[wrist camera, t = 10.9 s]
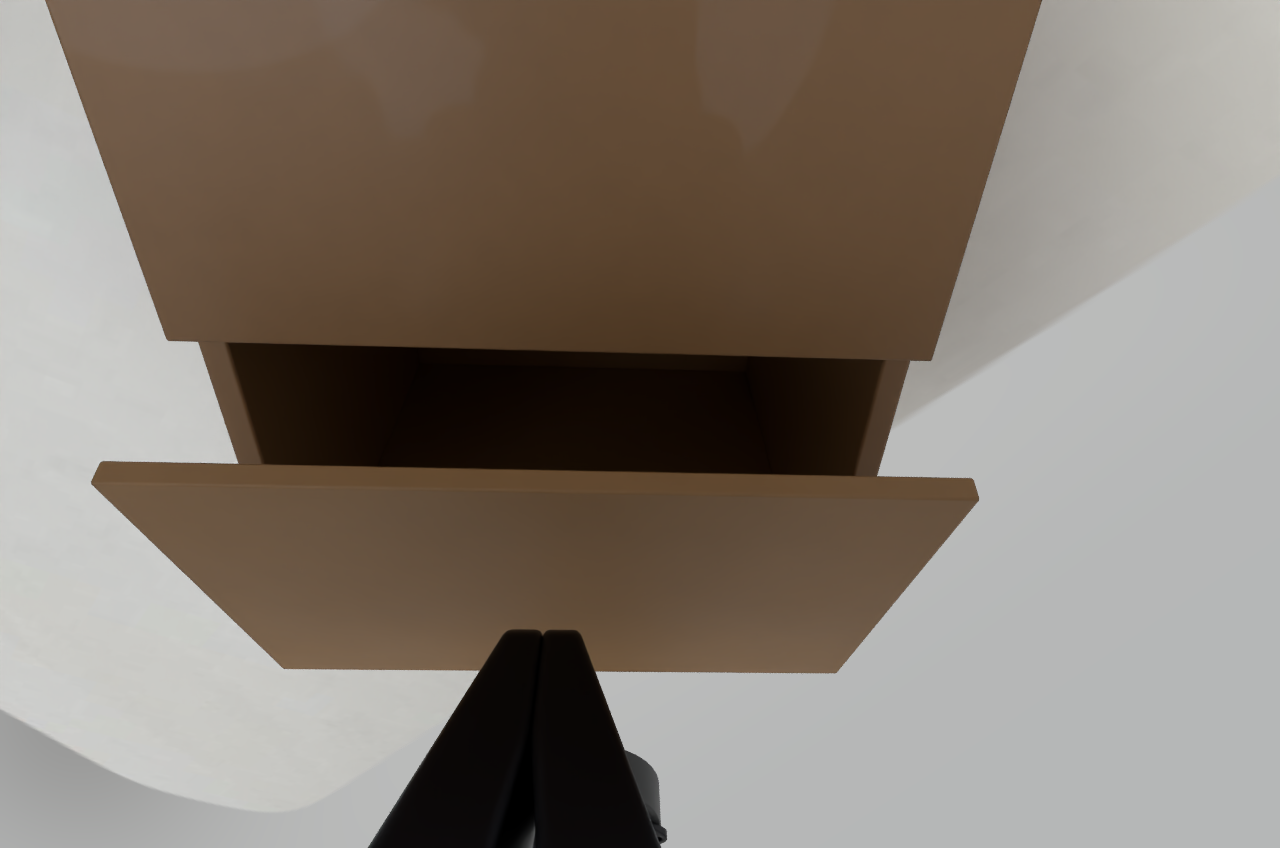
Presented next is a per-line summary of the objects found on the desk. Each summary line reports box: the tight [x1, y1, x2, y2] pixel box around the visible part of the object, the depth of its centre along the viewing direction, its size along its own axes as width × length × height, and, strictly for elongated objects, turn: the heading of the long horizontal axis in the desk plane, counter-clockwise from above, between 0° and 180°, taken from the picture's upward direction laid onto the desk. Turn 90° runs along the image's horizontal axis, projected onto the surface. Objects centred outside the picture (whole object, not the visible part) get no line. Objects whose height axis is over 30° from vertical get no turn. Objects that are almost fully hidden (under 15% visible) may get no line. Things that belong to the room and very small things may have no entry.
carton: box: [45, 0, 1042, 476], centre depth 14 cm, size 13×10×10 cm
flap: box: [91, 461, 979, 673], centre depth 11 cm, size 6×10×1 cm, turn 87°
